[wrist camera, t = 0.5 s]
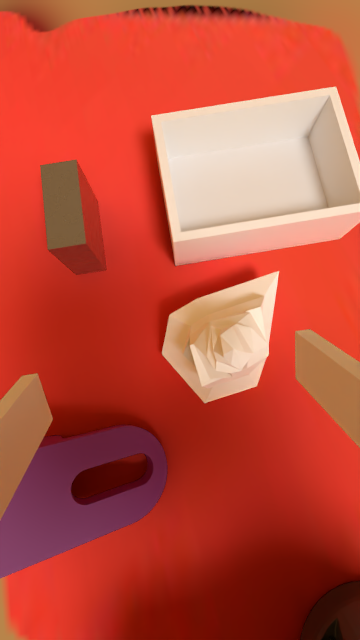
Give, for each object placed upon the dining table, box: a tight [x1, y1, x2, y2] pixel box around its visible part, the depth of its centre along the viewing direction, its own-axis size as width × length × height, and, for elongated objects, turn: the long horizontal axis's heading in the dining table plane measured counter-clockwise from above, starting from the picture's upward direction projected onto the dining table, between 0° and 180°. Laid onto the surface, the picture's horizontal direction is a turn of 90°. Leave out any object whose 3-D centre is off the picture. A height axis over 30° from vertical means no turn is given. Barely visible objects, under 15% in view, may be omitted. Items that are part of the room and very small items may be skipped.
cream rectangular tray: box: [151, 87, 360, 266], centre depth 36 cm, size 16×22×7 cm
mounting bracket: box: [0, 425, 167, 578], centre depth 32 cm, size 10×8×18 cm
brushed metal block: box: [40, 160, 106, 275], centre depth 35 cm, size 10×4×8 cm, turn 9°
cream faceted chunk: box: [162, 271, 279, 403], centre depth 29 cm, size 12×15×14 cm
